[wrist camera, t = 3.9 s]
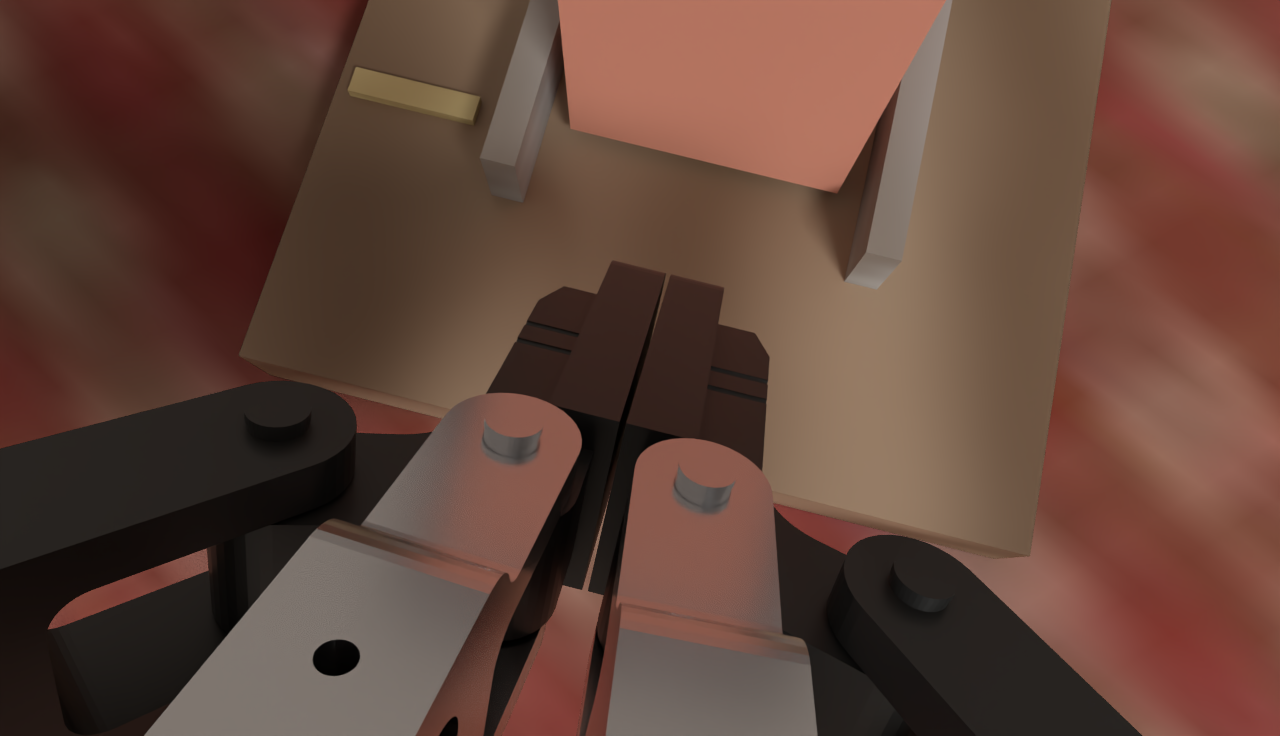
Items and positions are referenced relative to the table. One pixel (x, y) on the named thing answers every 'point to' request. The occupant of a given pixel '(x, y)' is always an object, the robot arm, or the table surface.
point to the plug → (741, 77)
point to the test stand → (717, 249)
